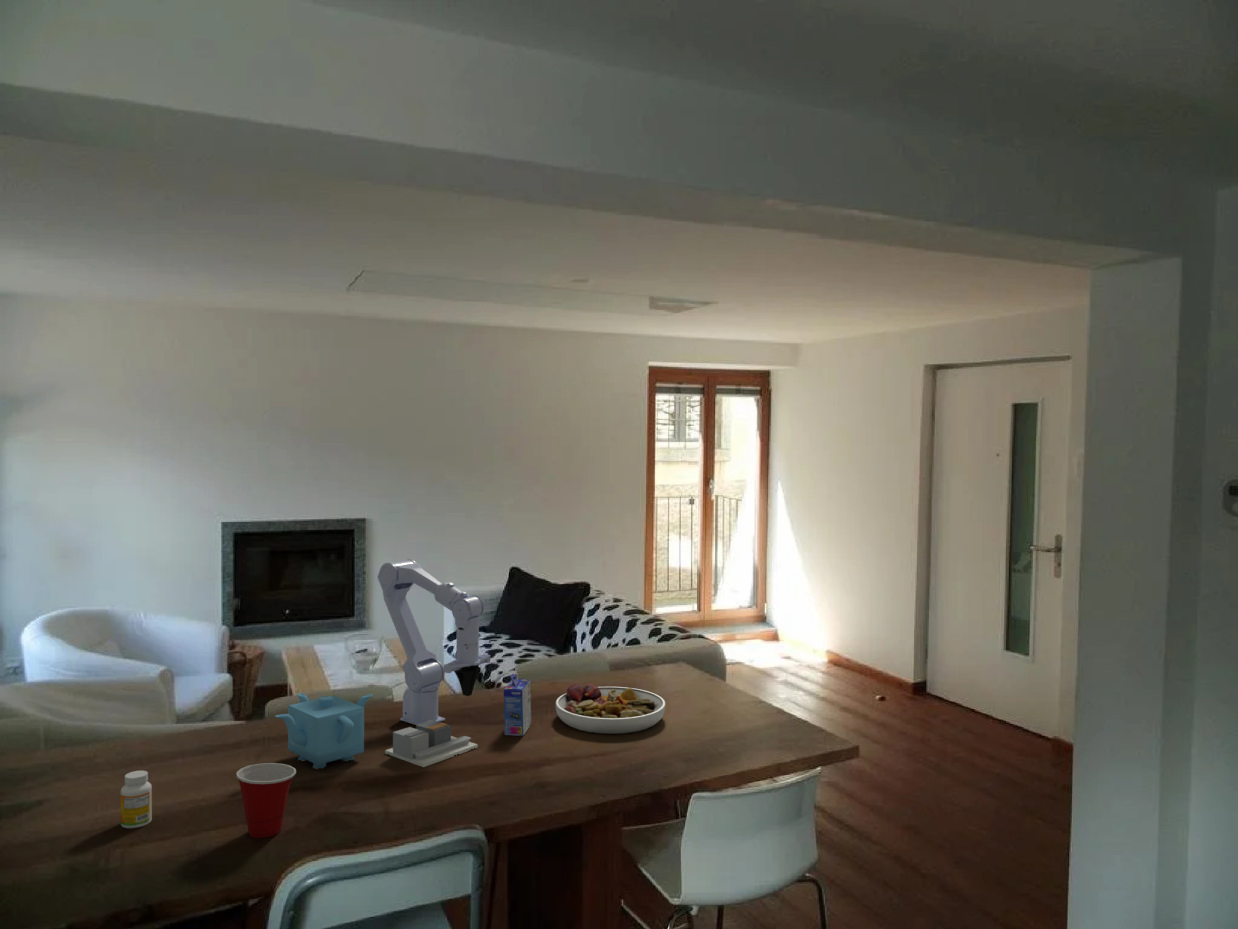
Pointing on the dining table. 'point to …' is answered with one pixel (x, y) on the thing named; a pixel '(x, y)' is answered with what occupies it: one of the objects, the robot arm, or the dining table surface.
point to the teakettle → (325, 729)
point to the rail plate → (425, 747)
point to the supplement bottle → (136, 800)
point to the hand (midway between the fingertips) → (467, 695)
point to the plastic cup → (265, 796)
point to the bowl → (609, 709)
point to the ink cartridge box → (517, 706)
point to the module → (436, 732)
